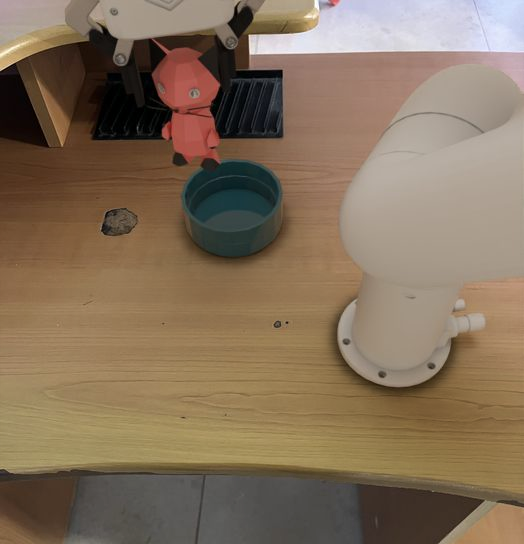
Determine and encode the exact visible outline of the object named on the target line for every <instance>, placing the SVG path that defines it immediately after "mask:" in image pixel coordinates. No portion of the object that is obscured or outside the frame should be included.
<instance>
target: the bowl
mask: <svg viewBox="0 0 524 544" xmlns="http://www.w3.org/2000/svg"><path fill="white" fill-rule="evenodd" d="M219 160H220V159H219ZM220 164H221V165H220V166H219V167H218V168H217V169H216V170H215V171H205V170H204V169H203V168H202V167H201V166H200V168H198V169H197V170H195V171H194V172H193V173H191V174H190V175H189V177H188V179H187V180H186V181H185V182H184V184H183V186H182V190H181V194H180V200H181V207H182V212H183V217H184V222H185V226H186V231H187V233H188V235H189V237H190V238H191V240H192V241H193V242H194V243H195V244H196V245H197V246H198V247H200V248H201V249H203V250H204V251H206V252H208V253H210V254H212V255H215V256H220V257H226V258H239V257H246V256H249V255H252V254H255V253H257V252H259V251H261V250H263V249H265V248H266V247H267V246H268V245H270V244H271V243H272V242H273V241H274V240H275V239H276V237H277V235H278V234H279V232H280V231H281V229H282V225H283V220H284V190H283V186H282V183H281V180H280V179H279V178H278V176H277V175H276V174H275V172H273V170H271V169H270V168H268V166H267V167H266V166H265V165H263V164H262V163H259V162H256V161H254V160H253V161H252V160H250V159H243V158H228V159H227V158H226V159H221V160H220Z"/></svg>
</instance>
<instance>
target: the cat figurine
mask: <svg viewBox="0 0 524 544" xmlns="http://www.w3.org/2000/svg"><path fill="white" fill-rule="evenodd" d="M148 47H149V58H150V59H149V60H150V70H151V71H150V72H151V77H152V80H153V83H154V86H155V89H156V92H157V95H158V97H159V98H160V100H161V101H162V102H163V103H162V102H160V101H159V100H156V99H154V98H152V97H149V96H148V95H147V94H145V97H147V99H149V100H152V101H154V102H155V103H157V104H159V105H161V106H163V107H165V108H163V107H153V106H149V105H147V107H148V108H149V109H153V110H161V111H168V109H167V108H169V110H170V111H171V112H172V115H171V120H170V121H168V122H166V123H165V124H164V126H163V128H162V129H161V138H163V139H165V140H166V141H167V143H168V142H170V140H172V145H173V150H174V151H175V152H174V153H173V155H172V162H171V163H172V165H174V166H176V167H183V166H186V165H188V164H190V163H191V162H193V160H194V159H195V158H196V157H200V164H199V166H200V168H201V167H202V168H203V169H204V170H205V171H215V170H216V169H217V168H218V167H219V166H220V165H221V164H220V157H219V154H218V152H217V150H216V148H218V146H219V144H220V142H221V140H220V136H219V133H218V132H216V131H217V130H216V123H215V117H214V116H213V114H212V112H211V111H210V110H211V107H214V106H216V105H217V103H215V104H212V101H213V100H214V99H216V97H217V95H218V92H219V90H220V88H221V84H220V77H219V70H218V65H217V58H216V51H215V44H214V45H212V46H211V47H209V48H208V50H206V51H205V52H203V53H202V52H200V51H198V50H195V49H192V48H190V47H178V48H174V49H172V50H169V49H167V48H166V47H165V46H164V45H162V44H161V43H159V42H158V41H156V40H155V38H148Z"/></svg>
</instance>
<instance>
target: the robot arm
mask: <svg viewBox="0 0 524 544" xmlns="http://www.w3.org/2000/svg"><path fill="white" fill-rule="evenodd" d="M265 1H266V0H239V1H238V2H237V3H236V4H235V0H70V2H69V3H68V4H67V6H66V7H65V8H64V22H65V24H66V25H67V26H68V27H69V28H70V29H72V30H73V31H74V32H76V33H77V34H78V35H79V36H81V37H82V38H84V39H86V40H87V41H88V42H89V44H90V45H91V46H92V47H93V48H95V49H97V50H98V51H100V52H101V53H103V54H104V55H105V56H108V57H109V58H111V59H112V60H113V63H114V64H115V65H117V66H118V67H119V71H120V75H121V79H122V83H123V86H124V90H125V93H126V95H130V94H133V95H134V100H135V103H136V107H137V108H143V107H144V106H146V102H145V93H144V89H143V83H142V79H141V75H140V71H139V66H138V62H137V57H136V54H135V49H134V47H133V46H134V43H135V41H140V40H149V38H152V39H156V38H161V37H162V38H163V37H166V36H167V37H169V36H175V35H181V34H182V35H183V34H187V33H194V32H195V33H196V32H201V31H206V30H207V31H208V30H213V31H214V33H215V35H213V43H214V45H215V51H216V58H217V65H218V70H219V77H220V88H221V91H222V93H224V94H231V93H232V86H231V85H232V84H231V79H233V78H237V66H236V54H235V51H236V50H235V49H236V48H237V46H238V45H239V39H240V38H241V37H242V35H243V34H244V33H245V31H246V30H247V29H248V28H249V27H250V25H251V24H252V23H253V21H254V17H255V15H256V13H258V12H259V10H260V8H262V5H264V3H265ZM98 5H99V6H100V9H101V13H102V16H103V19H104V23H105V25H103V24H101V23H100V22H98V21H95V20H93V18H92V17H91V16H90V15H91V14H92V12H93V11H94V9H96V7H97V6H98ZM338 210H339V211H338V219H337V228H338V234H339V238H340V242H341V245H342V247H343V249H344V252H345V253H346V255H347V256H348V258H349V259H350V260H351V261H352V262H353V263H354V265H356V267H358V268H359V269H360V270H361V271H362V274H361V278H360V284H359V289H358V293H357V297H356V298H355V299H354V300H352V301H351V302H350V303H349V304H348V305H347V306H346V307H345V309H344V311H342V314H341V316H340V318H339V321H338V326H337V333H336V335H337V336H336V337H337V339H336V340H337V344H338V349H339V351H340V353H341V356H342V358H343V359H344V361H345V362H346V363H347V365H348V366H349V367H350V368H351V369H352V370H353V371H354V372H355V373H356V374H358V375H359V376H361V377H362V378H364V379H365V380H368V381H370V382H372V383H375V384H378V385H381V386H385V387H389V388H390V387H391V388H392V387H393V388H406V387H412V386H415V385H419V384H420V385H421V384H422V383H424V382H426V381H428V380H430V379H431V378H433V377H434V376H435V375H436V374H438V372H440V370H441V369H442V368H443V366H444V364H445V363H446V361H447V359H448V357H449V354H450V351H451V344H452V338H456V337H457V336H458V335H459V334H460V333H469V332H470V333H471V332H475V331H482V330H485V328H486V324H487V322H486V318H485V315H484V314H483V312H475V313H468V314H464V315H461V316H455V315H454V314H452V313H459V312H464V311H465V310H466V307H467V305H466V300H465V299H464V298H459V297H460V295H461V293H462V291H463V289H464V286H465V285H470V284H478V283H479V284H480V283H486V282H487V283H488V282H495V281H504V280H511V279H521V278H524V92H522V90H521V88H520V87H519V85H518V84H517V82H516V81H514V80H513V78H511V76H509V75H508V74H507V73H506V72H505V71H502V70H501V69H499V68H497V67H494V66H491V65H487V64H484V63H477V62H475V63H474V62H470V63H460V64H456V65H452V66H449V67H446V68H444V69H442V70H439V71H437V72H436V73H434V74H433V75H431V76H430V77H428V78H427V79H426V80H425V81H424V82H422V83H421V84H419V86H417V87H416V89H415V90H413V92H412V93H411V94H410V95H409V97H408V98H407V99H406V100H405V101H404V103H403V104H402V106H400V108H399V109H398V111H397V112H396V114H395V115H394V116H393V118H392V119H391V121H390V123H389V124H388V125H387V127H386V128H385V129H384V131H383V133H382V134H381V135H380V137H379V139H378V141H377V143H376V145H375V146H374V147H373V149H372V150H371V152H370V153H369V155H368V156H367V158H366V159H365V160H364V162H363V163H362V165H361V166H360V168H359V169H358V171H357V172H356V174H354V176H353V178H352V180H351V181H350V183H349V185H348V186H347V188H346V190H345V192H344V194H343V196H342V199H341V202H340V206H339V209H338Z"/></svg>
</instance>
